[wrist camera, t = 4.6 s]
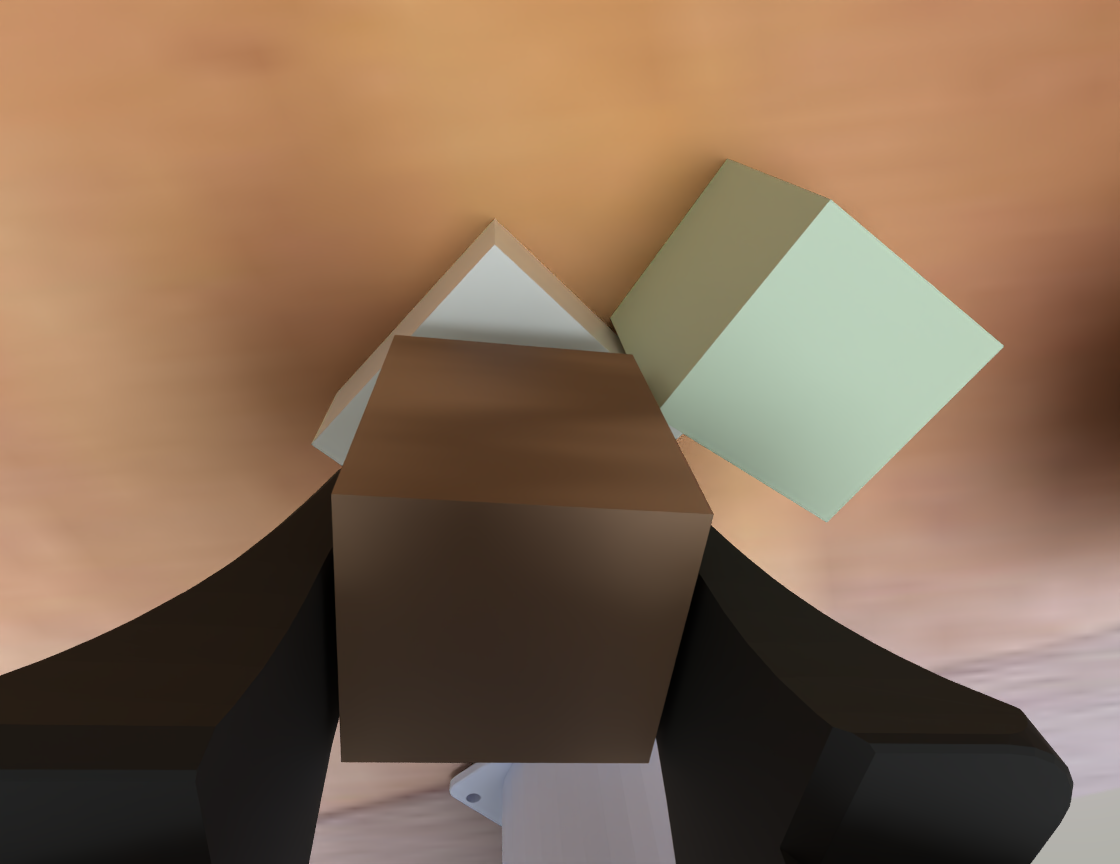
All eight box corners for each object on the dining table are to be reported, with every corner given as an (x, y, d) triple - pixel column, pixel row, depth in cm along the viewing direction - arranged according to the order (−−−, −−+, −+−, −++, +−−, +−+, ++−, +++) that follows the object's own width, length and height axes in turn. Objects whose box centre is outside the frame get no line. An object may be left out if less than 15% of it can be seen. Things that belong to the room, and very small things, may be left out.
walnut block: (632, 354, 13) (714, 514, 8) (599, 544, 15) (648, 762, 10) (394, 335, 13) (330, 493, 8) (392, 534, 15) (341, 762, 10)
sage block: (860, 266, 17) (1004, 346, 12) (740, 403, 19) (826, 522, 14) (726, 158, 16) (830, 199, 11) (609, 317, 17) (653, 415, 12)
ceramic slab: (661, 375, 18) (689, 427, 16) (509, 515, 20) (511, 583, 17) (494, 215, 16) (494, 244, 13) (338, 388, 18) (310, 444, 15)
